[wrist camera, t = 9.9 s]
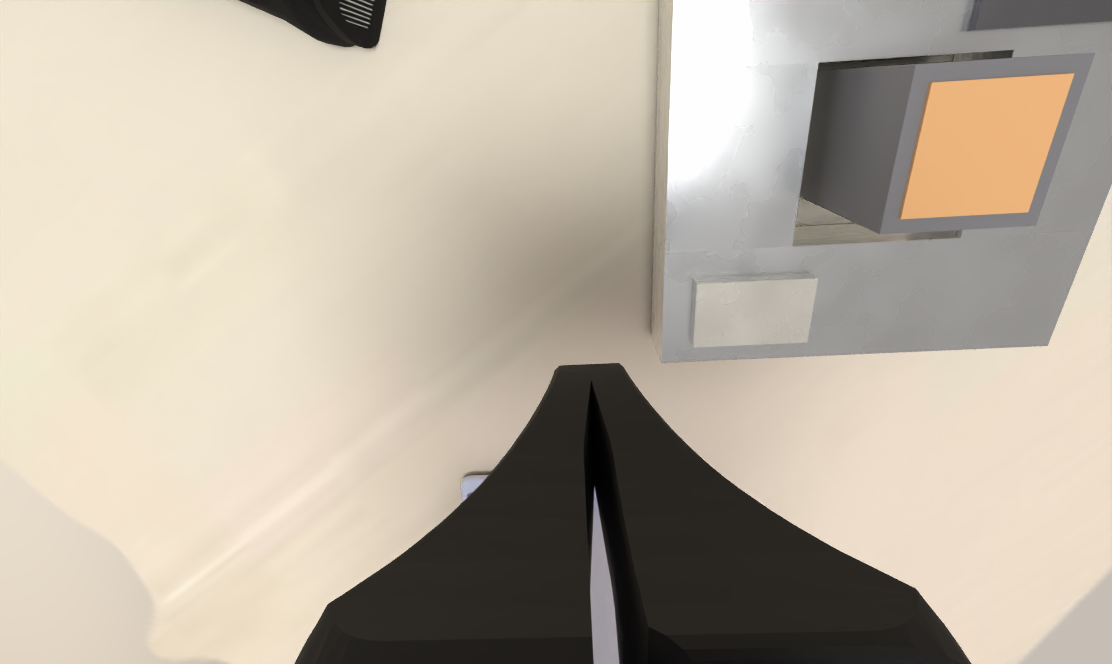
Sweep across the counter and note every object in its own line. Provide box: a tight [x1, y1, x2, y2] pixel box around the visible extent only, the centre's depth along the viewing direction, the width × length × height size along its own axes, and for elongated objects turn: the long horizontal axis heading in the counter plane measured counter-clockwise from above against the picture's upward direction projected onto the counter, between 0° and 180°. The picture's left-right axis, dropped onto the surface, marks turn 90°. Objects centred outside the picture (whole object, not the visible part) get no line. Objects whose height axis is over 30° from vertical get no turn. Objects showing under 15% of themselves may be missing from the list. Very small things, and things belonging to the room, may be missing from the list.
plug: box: [800, 53, 1095, 234], centre depth 15 cm, size 4×4×6 cm
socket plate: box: [651, 0, 1112, 363], centre depth 17 cm, size 14×14×3 cm
